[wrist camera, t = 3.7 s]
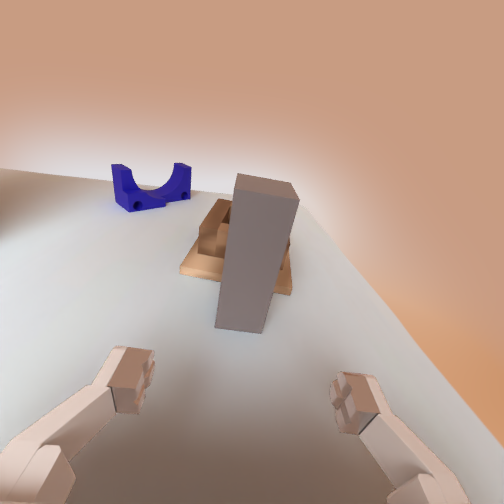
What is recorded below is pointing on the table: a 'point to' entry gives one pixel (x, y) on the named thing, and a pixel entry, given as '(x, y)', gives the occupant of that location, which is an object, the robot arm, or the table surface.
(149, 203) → the blue cradle bracket
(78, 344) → the table surface
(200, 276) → the socket board
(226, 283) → the peg
